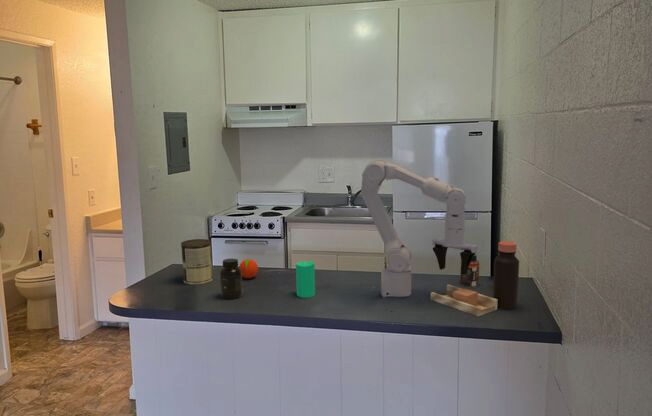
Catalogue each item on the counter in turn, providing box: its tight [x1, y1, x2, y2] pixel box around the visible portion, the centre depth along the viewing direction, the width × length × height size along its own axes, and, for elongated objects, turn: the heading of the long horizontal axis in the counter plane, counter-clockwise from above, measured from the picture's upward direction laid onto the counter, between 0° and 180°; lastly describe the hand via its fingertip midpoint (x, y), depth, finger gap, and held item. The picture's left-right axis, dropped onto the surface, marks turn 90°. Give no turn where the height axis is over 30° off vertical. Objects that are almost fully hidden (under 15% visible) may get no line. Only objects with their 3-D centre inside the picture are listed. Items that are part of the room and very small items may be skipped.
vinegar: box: [492, 240, 520, 311], centre depth 144 cm, size 7×7×20 cm
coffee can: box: [180, 238, 213, 285], centre depth 177 cm, size 10×10×14 cm
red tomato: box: [238, 258, 259, 279], centre depth 179 cm, size 8×7×7 cm
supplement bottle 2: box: [459, 253, 480, 287], centre depth 166 cm, size 6×6×11 cm
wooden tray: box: [430, 284, 498, 317], centre depth 149 cm, size 18×16×4 cm
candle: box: [295, 260, 316, 299], centre depth 160 cm, size 6×6×12 cm
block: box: [453, 288, 479, 306], centre depth 146 cm, size 5×5×4 cm
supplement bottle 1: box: [219, 258, 243, 300], centre depth 160 cm, size 7×7×12 cm
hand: (453, 271), depth 152 cm, fingers open, 7 cm apart
